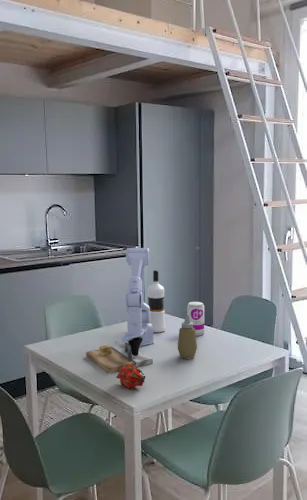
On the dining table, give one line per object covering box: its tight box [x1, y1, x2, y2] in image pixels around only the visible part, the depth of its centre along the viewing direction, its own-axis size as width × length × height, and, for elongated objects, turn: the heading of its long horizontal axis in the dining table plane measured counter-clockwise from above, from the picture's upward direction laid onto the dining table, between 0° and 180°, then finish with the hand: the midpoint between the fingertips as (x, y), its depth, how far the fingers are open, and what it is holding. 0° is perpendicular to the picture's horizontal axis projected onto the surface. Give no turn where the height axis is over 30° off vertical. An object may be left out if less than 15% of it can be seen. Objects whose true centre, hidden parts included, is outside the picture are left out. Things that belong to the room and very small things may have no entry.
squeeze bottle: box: [177, 313, 198, 360], centre depth 198 cm, size 8×8×18 cm
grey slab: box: [85, 344, 154, 374], centre depth 196 cm, size 19×22×5 cm
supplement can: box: [186, 301, 205, 337], centre depth 230 cm, size 8×8×15 cm
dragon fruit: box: [115, 363, 146, 391], centre depth 169 cm, size 8×8×12 cm
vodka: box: [146, 269, 167, 334], centre depth 235 cm, size 9×9×30 cm
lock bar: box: [124, 341, 132, 360], centre depth 195 cm, size 14×3×4 cm, turn 5°
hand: (135, 355), depth 194 cm, fingers closed, pressing on lock bar
